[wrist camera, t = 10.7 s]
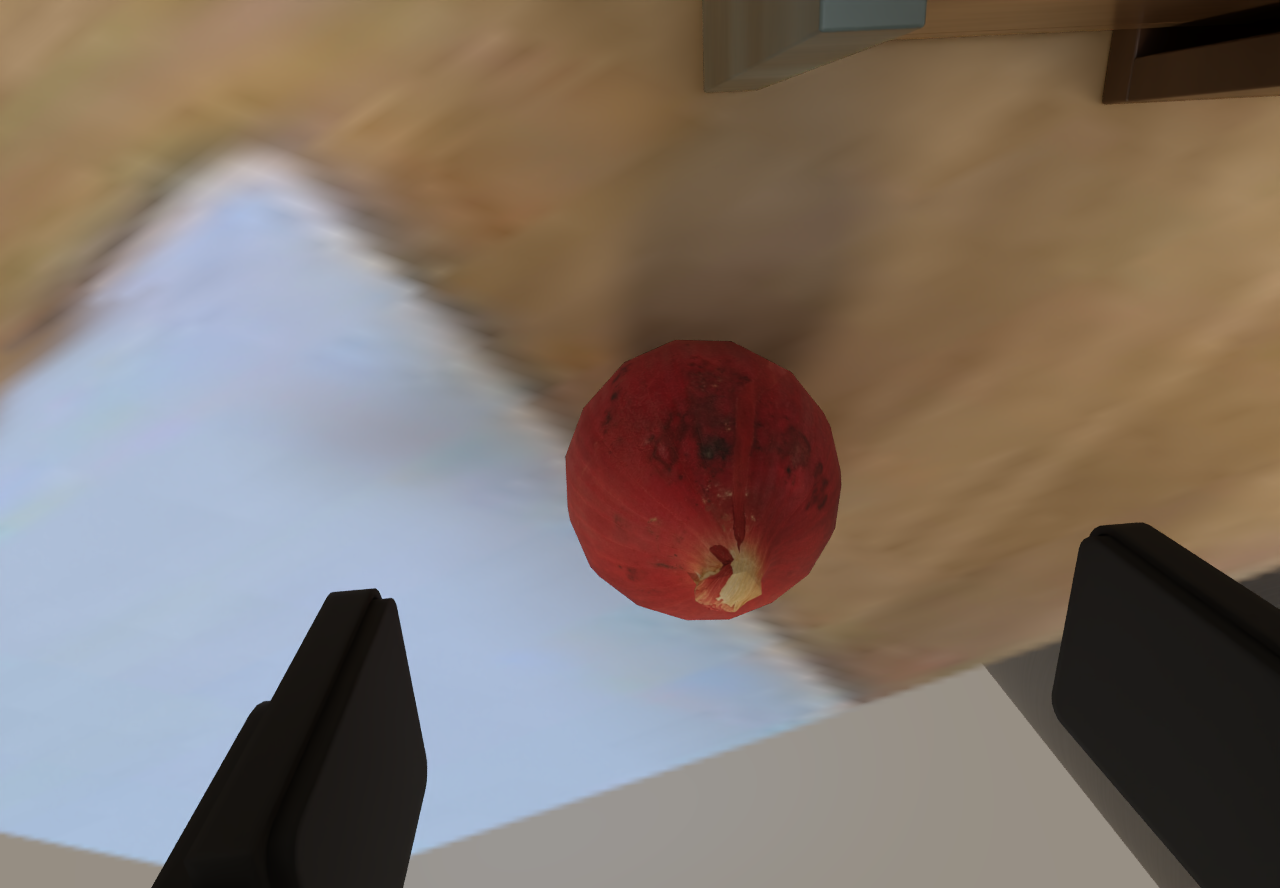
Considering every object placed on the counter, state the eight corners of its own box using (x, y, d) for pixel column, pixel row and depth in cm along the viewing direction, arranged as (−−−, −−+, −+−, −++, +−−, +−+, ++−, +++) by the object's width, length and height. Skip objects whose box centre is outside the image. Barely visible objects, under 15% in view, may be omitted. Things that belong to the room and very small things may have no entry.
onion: (566, 309, 18) (556, 413, 11) (798, 311, 19) (940, 410, 11) (569, 524, 20) (563, 733, 13) (779, 521, 21) (888, 721, 13)
